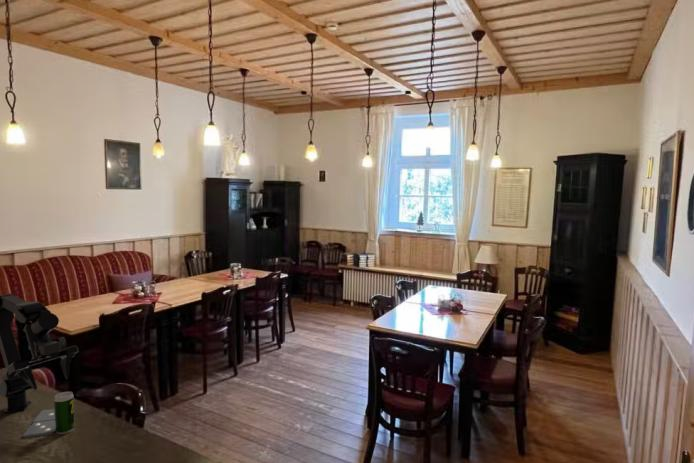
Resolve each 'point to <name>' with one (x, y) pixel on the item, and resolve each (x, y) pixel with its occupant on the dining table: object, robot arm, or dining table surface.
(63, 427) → the beer can
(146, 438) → the dining table surface
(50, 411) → the one-dot tile
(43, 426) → the three-dot tile
